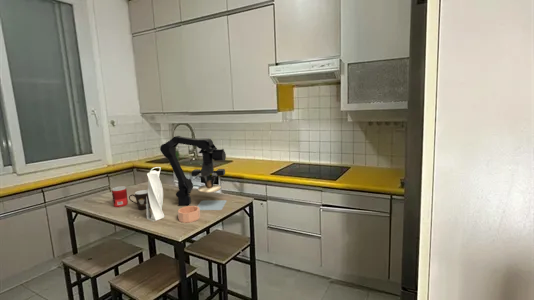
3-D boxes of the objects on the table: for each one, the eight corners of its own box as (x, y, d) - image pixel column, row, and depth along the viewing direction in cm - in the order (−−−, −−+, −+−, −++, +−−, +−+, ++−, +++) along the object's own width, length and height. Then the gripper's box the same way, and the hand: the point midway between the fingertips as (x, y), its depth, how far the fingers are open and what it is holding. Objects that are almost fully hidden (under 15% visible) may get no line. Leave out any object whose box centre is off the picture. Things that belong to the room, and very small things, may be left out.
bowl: (175, 222, 151) (174, 213, 150) (182, 214, 162) (182, 205, 161) (196, 222, 150) (195, 213, 150) (202, 214, 161) (201, 205, 160)
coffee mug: (155, 206, 176) (153, 190, 175) (144, 211, 168) (143, 194, 167) (139, 204, 180) (138, 189, 178) (129, 209, 172) (127, 193, 170)
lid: (195, 192, 166) (194, 184, 165) (201, 186, 179) (201, 178, 178) (218, 192, 165) (217, 183, 165) (222, 185, 178) (222, 177, 177)
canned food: (130, 203, 182) (128, 186, 180) (119, 208, 175) (117, 190, 173) (122, 202, 185) (120, 185, 184) (110, 206, 178) (108, 189, 176)
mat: (193, 210, 167) (193, 209, 167) (201, 201, 183) (201, 200, 183) (221, 210, 166) (221, 209, 166) (227, 201, 182) (227, 200, 182)
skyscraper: (160, 214, 164) (155, 165, 160) (168, 217, 159) (164, 167, 154) (146, 219, 158) (141, 168, 153) (154, 222, 153) (149, 170, 148)
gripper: (187, 164, 162) (189, 191, 165) (220, 163, 161) (222, 190, 163) (193, 159, 173) (195, 185, 176) (224, 159, 172) (226, 185, 174)
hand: (209, 186), depth 172 cm, fingers closed on lid, 3 cm apart
